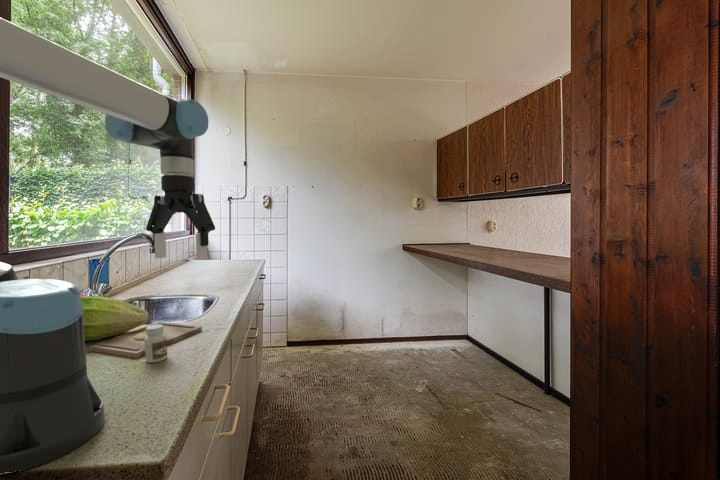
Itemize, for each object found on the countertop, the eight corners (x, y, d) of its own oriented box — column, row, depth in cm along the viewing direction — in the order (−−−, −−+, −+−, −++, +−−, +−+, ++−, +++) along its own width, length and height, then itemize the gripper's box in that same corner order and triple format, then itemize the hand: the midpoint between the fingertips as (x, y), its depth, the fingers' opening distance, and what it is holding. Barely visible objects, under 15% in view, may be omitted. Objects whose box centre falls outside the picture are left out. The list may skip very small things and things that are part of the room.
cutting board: (136, 358, 80) (136, 351, 80) (89, 350, 85) (89, 344, 85) (201, 330, 98) (201, 325, 98) (160, 325, 104) (159, 320, 104)
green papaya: (149, 318, 93) (151, 284, 102) (41, 323, 81) (54, 284, 90) (146, 349, 98) (148, 314, 108) (45, 359, 87) (56, 319, 96)
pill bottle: (157, 363, 76) (155, 330, 76) (140, 362, 77) (138, 329, 77) (171, 355, 81) (170, 324, 80) (156, 354, 82) (154, 323, 81)
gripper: (228, 175, 87) (230, 258, 88) (153, 180, 94) (157, 256, 96) (206, 171, 80) (209, 261, 81) (128, 176, 87) (131, 258, 88)
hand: (180, 258), depth 88 cm, fingers open, 13 cm apart
